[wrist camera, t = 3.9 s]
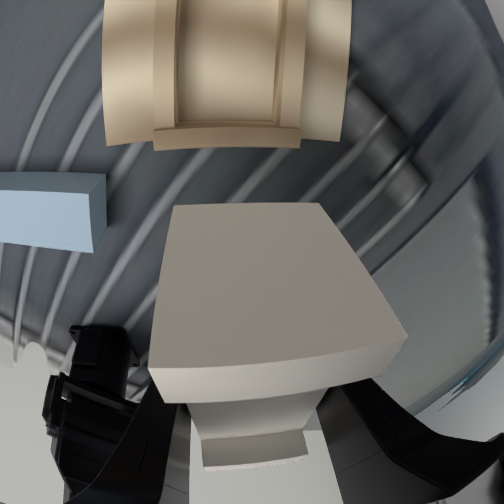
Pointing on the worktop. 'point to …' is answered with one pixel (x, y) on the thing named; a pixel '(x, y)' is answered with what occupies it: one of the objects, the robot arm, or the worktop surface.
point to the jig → (224, 72)
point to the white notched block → (262, 325)
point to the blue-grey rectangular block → (53, 209)
